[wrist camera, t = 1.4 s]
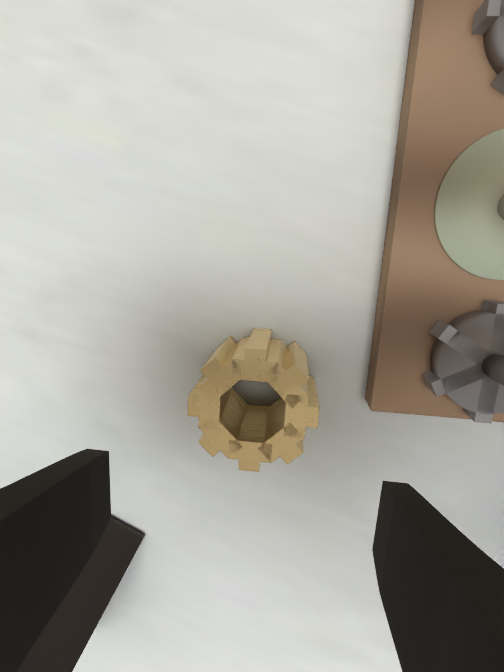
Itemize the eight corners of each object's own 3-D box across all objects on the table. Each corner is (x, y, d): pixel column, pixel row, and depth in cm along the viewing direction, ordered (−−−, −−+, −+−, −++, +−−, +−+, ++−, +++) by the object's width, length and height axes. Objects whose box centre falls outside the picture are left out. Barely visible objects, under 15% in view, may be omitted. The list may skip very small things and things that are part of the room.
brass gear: (308, 434, 21) (312, 477, 17) (206, 424, 21) (187, 464, 17) (318, 332, 19) (324, 353, 15) (208, 324, 20) (188, 343, 16)
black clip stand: (60, 484, 23) (-179, 725, 11) (146, 533, 23) (-1, 821, 12) (10, 585, 25) (-233, 874, 14) (89, 629, 25) (-83, 953, 14)
